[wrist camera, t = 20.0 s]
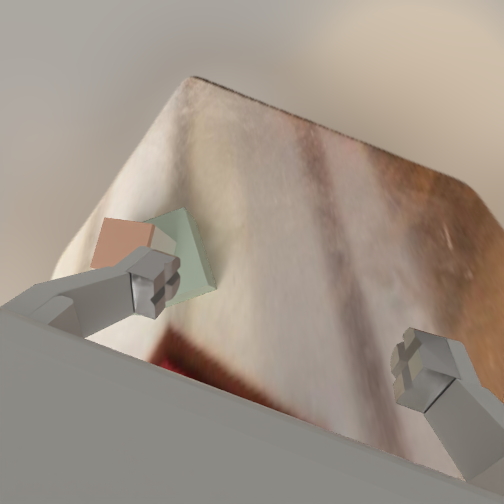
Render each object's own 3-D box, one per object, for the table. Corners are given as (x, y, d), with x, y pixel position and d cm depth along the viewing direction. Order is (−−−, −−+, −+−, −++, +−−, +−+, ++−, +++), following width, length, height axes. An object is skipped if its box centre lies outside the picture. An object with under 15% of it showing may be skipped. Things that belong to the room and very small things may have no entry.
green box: (144, 315, 45) (124, 314, 39) (127, 245, 48) (106, 234, 42) (217, 289, 45) (207, 284, 39) (195, 220, 48) (184, 206, 42)
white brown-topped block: (167, 284, 40) (139, 275, 32) (126, 277, 40) (90, 267, 33) (176, 242, 41) (152, 223, 33) (137, 236, 42) (104, 217, 34)
